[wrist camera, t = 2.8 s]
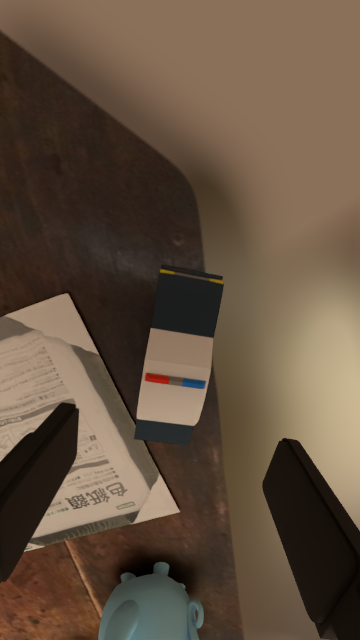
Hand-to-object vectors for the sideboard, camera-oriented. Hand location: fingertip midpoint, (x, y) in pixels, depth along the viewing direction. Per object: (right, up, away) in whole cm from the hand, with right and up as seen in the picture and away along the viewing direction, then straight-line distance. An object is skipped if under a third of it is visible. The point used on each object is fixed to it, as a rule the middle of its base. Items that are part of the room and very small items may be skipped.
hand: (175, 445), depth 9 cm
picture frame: (-17, -9, +13) cm, 24 cm away
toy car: (0, +3, +10) cm, 11 cm away
